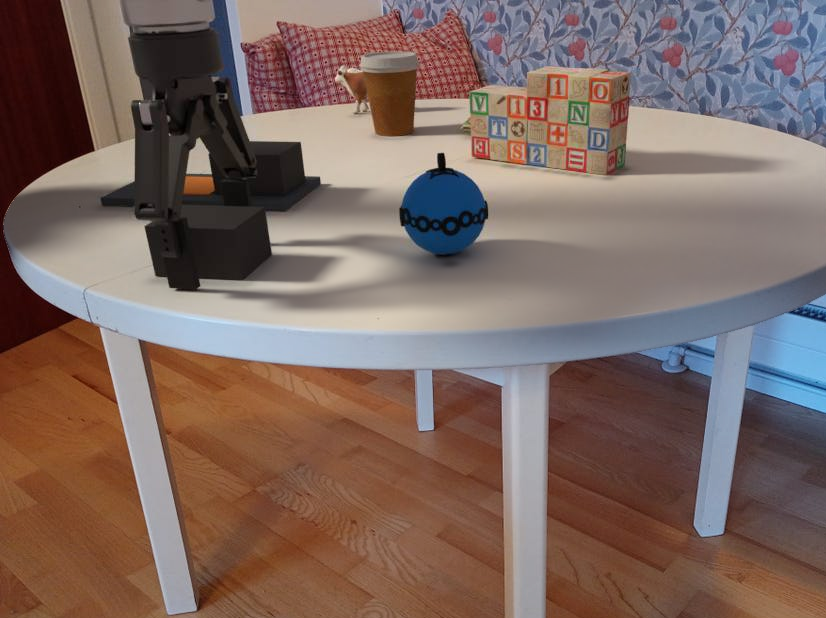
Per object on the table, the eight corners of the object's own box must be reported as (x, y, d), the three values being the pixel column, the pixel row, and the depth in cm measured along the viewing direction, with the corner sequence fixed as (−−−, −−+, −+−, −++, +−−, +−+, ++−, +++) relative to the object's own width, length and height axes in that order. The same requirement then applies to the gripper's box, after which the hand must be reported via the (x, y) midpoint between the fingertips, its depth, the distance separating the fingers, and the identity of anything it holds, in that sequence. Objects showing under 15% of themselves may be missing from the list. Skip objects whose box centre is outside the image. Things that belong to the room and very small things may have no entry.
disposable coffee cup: (354, 136, 133) (347, 58, 127) (382, 124, 140) (377, 50, 135) (407, 140, 129) (401, 59, 124) (433, 127, 137) (429, 51, 132)
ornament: (497, 263, 79) (495, 159, 75) (409, 271, 78) (401, 167, 73) (478, 235, 87) (475, 140, 82) (398, 243, 85) (390, 146, 81)
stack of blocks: (470, 158, 117) (467, 67, 112) (492, 149, 122) (491, 62, 117) (607, 175, 107) (612, 76, 102) (626, 164, 112) (632, 70, 106)
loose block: (155, 276, 79) (144, 226, 76) (190, 251, 85) (181, 204, 82) (242, 280, 77) (233, 229, 75) (272, 254, 83) (265, 206, 81)
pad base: (101, 205, 101) (89, 156, 98) (153, 179, 111) (143, 135, 108) (285, 211, 97) (278, 160, 94) (321, 184, 107) (315, 137, 104)
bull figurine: (339, 110, 154) (335, 64, 150) (410, 109, 152) (407, 63, 149) (333, 114, 150) (328, 67, 146) (406, 113, 149) (402, 66, 145)
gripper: (135, 43, 60) (192, 314, 70) (269, 14, 81) (298, 225, 91) (43, 44, 61) (112, 310, 71) (199, 16, 82) (235, 223, 92)
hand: (216, 263), depth 81 cm, fingers open, 12 cm apart
